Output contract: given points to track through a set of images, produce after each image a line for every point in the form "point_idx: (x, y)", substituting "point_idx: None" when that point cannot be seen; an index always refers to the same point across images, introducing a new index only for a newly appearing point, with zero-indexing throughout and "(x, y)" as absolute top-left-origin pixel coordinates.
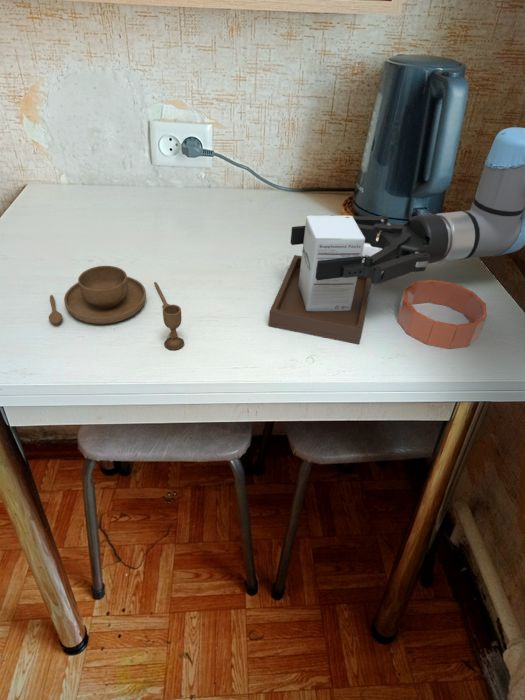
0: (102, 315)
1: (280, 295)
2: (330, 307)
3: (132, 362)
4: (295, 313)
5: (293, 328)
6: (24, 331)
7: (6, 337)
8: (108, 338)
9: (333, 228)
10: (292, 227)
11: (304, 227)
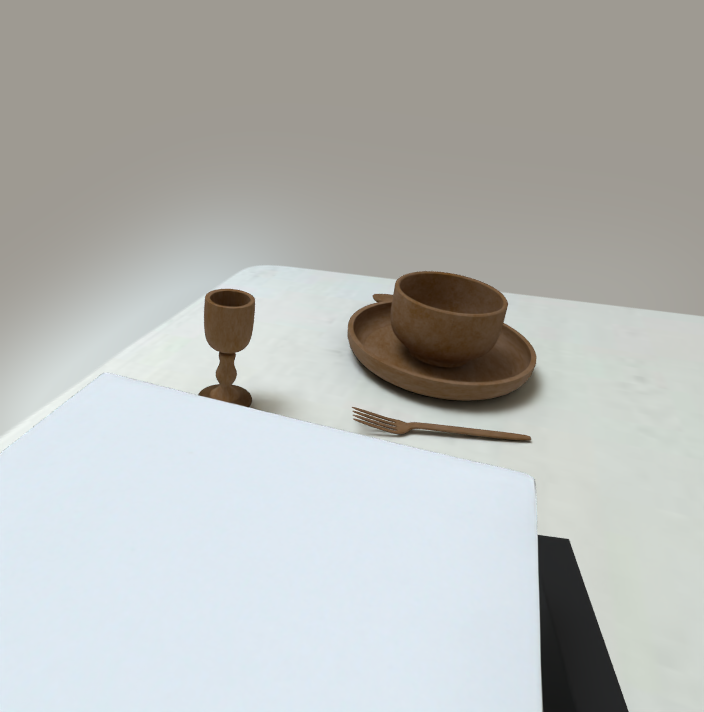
0: (386, 342)
1: None
2: None
3: (206, 345)
4: None
5: None
6: (376, 287)
7: (366, 276)
8: (307, 340)
9: (164, 530)
10: (556, 537)
11: (559, 612)
